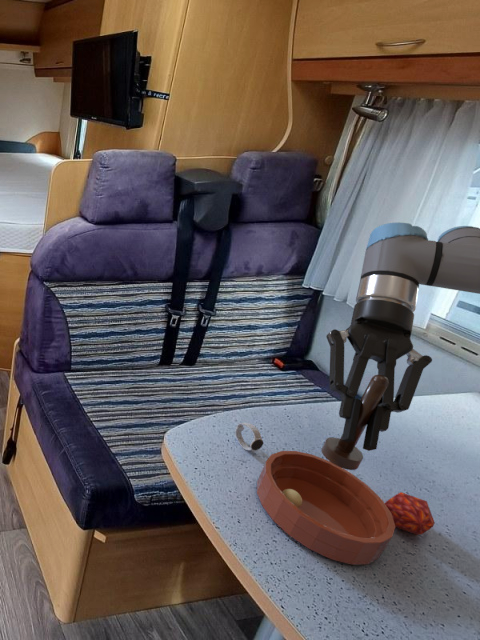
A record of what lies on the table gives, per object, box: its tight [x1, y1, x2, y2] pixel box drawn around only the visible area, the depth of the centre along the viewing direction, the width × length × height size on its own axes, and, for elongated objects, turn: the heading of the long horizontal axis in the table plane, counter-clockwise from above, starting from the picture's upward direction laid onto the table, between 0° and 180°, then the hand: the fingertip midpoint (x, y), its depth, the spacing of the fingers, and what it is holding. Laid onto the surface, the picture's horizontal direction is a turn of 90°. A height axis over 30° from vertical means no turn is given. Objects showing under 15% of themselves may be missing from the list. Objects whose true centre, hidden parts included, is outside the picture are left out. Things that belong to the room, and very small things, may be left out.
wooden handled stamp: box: [321, 374, 389, 471], centre depth 73 cm, size 5×5×16 cm
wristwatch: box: [234, 422, 264, 451], centre depth 92 cm, size 3×5×5 cm, turn 11°
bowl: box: [256, 450, 396, 566], centre depth 78 cm, size 18×18×6 cm
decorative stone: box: [384, 491, 436, 536], centre depth 77 cm, size 6×7×8 cm
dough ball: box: [282, 489, 302, 508], centre depth 79 cm, size 3×3×3 cm
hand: (358, 444), depth 71 cm, fingers closed on wooden handled stamp, 2 cm apart
